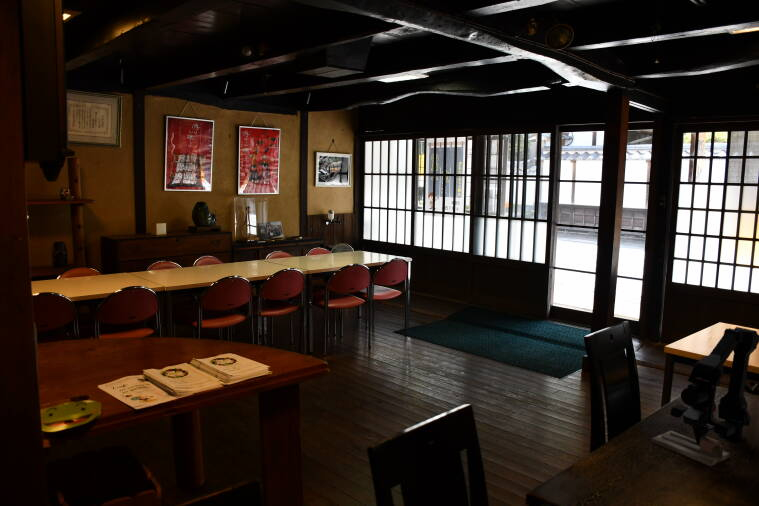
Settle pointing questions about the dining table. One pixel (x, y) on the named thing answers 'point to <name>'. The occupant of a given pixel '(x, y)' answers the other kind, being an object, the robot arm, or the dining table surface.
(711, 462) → the track board
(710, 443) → the terracotta cardboard box
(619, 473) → the dining table surface
